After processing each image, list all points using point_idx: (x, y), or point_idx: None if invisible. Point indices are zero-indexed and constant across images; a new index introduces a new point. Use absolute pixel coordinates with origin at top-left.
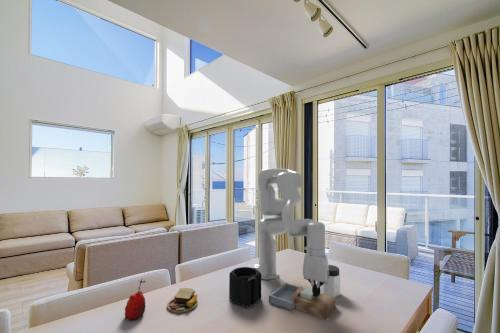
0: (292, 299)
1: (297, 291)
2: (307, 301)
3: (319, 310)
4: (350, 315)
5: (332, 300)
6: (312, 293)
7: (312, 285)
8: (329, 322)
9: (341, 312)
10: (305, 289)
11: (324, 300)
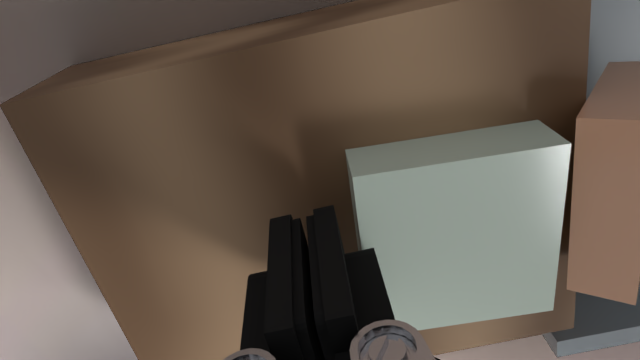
0: (619, 63)
1: (627, 120)
2: (353, 54)
3: (145, 60)
4: (6, 305)
5: (140, 337)
6: (382, 256)
7: (381, 341)
8: (6, 24)
9: (92, 289)
10: (537, 279)
11: (202, 268)
